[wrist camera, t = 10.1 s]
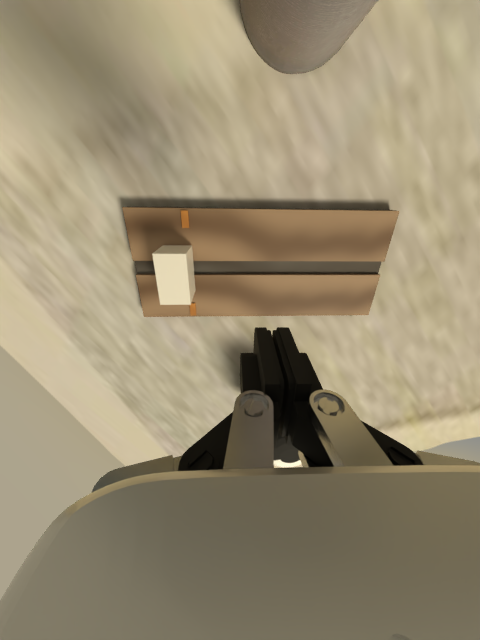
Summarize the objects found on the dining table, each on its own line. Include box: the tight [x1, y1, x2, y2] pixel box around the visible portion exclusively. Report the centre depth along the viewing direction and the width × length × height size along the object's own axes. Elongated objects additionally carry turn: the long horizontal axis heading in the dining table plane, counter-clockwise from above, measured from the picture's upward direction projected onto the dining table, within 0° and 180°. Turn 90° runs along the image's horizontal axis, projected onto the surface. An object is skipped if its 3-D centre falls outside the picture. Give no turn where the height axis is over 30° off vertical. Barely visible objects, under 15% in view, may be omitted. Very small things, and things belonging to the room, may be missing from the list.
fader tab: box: [152, 245, 196, 305], centre depth 24 cm, size 5×3×4 cm, turn 179°
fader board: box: [122, 207, 399, 317], centre depth 27 cm, size 12×28×2 cm, turn 89°
